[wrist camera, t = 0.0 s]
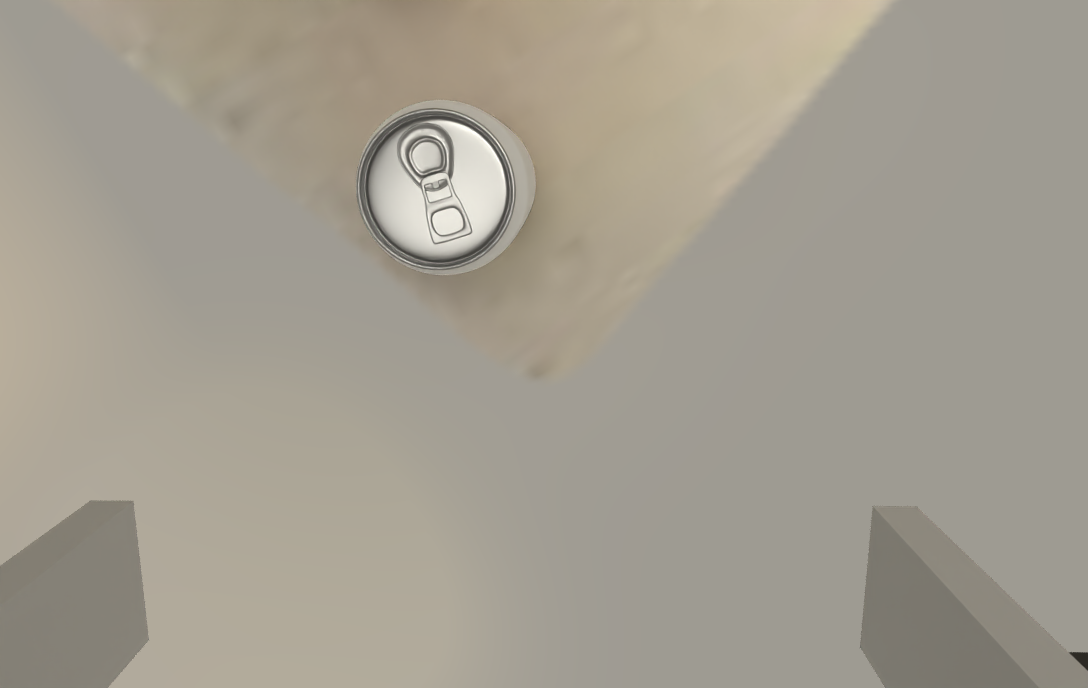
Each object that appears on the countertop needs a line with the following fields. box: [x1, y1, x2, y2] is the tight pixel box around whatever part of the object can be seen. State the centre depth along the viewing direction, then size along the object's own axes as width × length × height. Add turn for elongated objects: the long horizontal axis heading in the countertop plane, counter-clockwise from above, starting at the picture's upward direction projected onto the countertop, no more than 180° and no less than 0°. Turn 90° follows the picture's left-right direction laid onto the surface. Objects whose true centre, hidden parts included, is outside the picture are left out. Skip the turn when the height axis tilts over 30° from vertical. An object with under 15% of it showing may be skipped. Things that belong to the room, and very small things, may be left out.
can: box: [356, 100, 536, 275], centre depth 35 cm, size 6×6×12 cm
